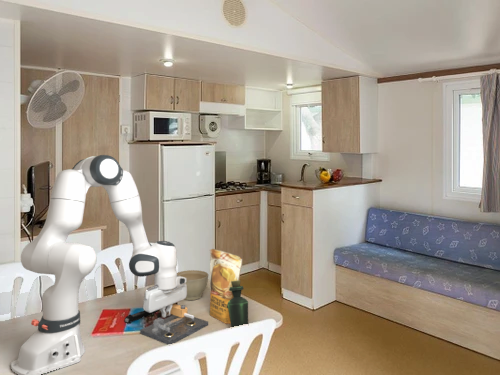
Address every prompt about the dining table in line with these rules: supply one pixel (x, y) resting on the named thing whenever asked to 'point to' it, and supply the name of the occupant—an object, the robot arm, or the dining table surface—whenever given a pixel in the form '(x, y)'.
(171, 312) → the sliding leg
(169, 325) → the bolt plate
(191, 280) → the planter bowl
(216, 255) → the pancake mix bag
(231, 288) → the potion bottle
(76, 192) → the robot arm
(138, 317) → the electric trimmer
